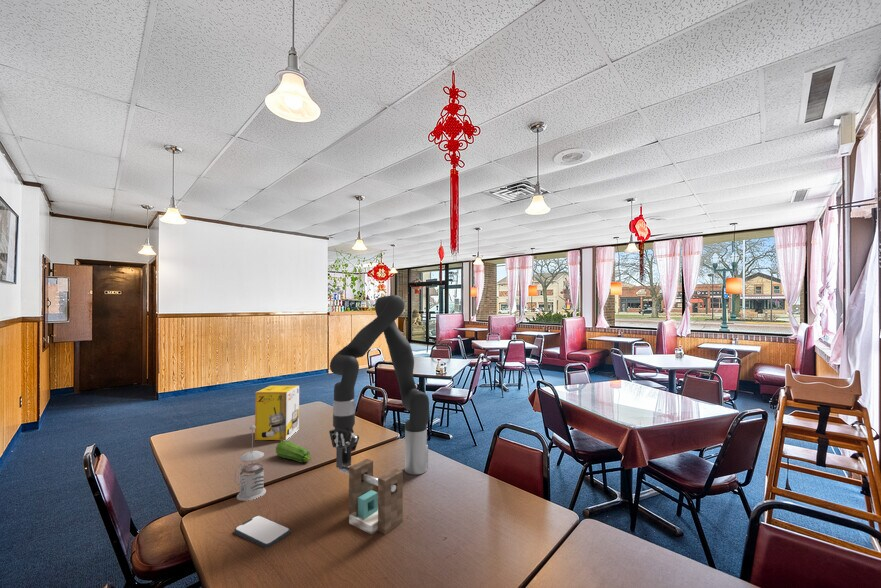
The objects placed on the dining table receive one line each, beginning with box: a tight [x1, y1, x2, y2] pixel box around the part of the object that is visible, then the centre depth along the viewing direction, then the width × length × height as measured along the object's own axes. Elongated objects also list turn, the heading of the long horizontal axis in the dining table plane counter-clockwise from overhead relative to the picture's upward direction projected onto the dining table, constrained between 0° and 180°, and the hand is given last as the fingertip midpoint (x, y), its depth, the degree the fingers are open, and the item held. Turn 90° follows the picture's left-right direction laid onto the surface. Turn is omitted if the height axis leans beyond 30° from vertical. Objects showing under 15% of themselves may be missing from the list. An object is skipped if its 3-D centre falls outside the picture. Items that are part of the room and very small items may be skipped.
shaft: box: [335, 445, 396, 492], centre depth 121 cm, size 26×4×9 cm, turn 54°
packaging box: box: [254, 385, 300, 441], centre depth 195 cm, size 16×16×25 cm
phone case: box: [233, 515, 291, 549], centre depth 111 cm, size 9×2×16 cm
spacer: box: [358, 489, 378, 519], centre depth 120 cm, size 3×6×6 cm, turn 144°
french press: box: [234, 424, 267, 502], centre depth 134 cm, size 10×12×25 cm
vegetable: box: [275, 440, 311, 463], centre depth 165 cm, size 7×7×20 cm
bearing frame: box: [348, 458, 404, 536], centre depth 118 cm, size 16×13×16 cm
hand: (343, 461), depth 128 cm, fingers closed on shaft, 3 cm apart
